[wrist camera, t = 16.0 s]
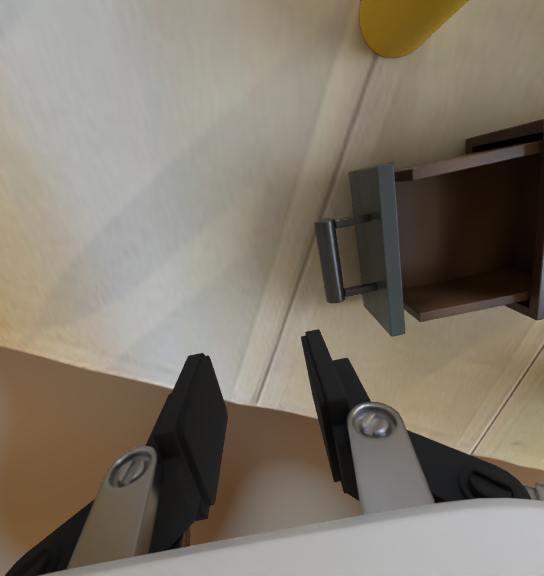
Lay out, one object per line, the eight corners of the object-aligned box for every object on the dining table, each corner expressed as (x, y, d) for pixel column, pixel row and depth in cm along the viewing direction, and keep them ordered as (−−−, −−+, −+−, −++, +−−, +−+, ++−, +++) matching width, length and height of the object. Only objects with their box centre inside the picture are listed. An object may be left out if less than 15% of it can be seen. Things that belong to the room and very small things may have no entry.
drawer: (322, 314, 31) (339, 347, 24) (300, 182, 26) (313, 179, 20) (512, 275, 30) (580, 298, 24) (520, 134, 26) (607, 114, 19)
